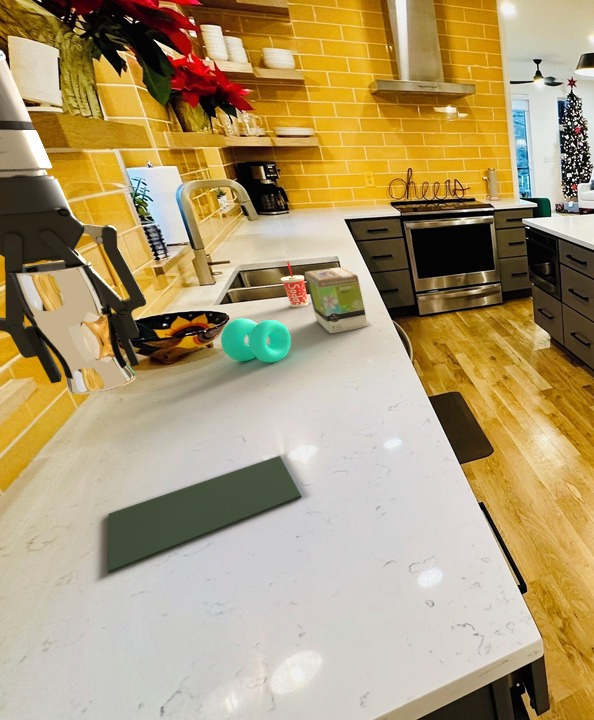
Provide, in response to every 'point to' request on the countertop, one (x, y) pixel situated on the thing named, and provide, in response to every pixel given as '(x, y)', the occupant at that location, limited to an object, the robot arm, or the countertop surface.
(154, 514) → the mat
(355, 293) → the tea box
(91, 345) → the beer glass
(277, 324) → the donuts
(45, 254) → the robot arm
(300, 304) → the beverage cup
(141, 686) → the countertop surface
